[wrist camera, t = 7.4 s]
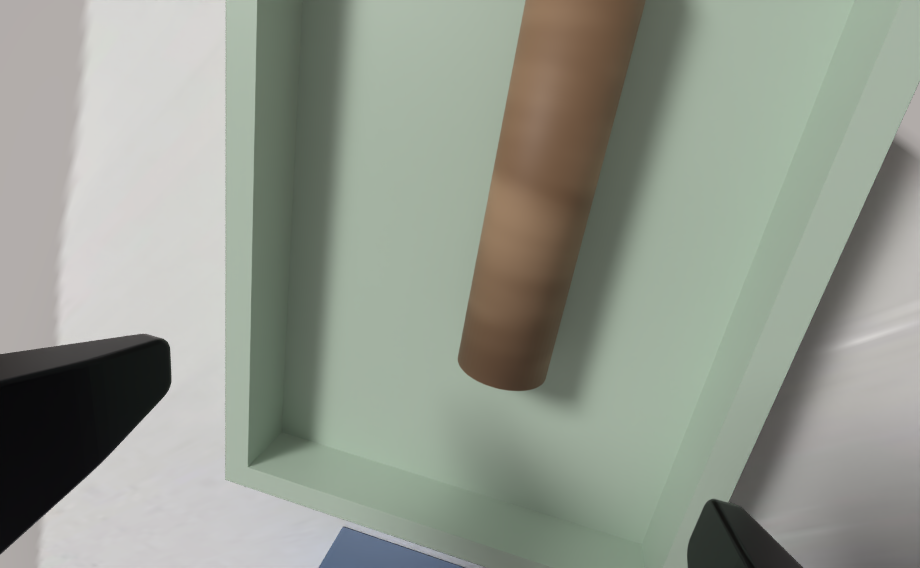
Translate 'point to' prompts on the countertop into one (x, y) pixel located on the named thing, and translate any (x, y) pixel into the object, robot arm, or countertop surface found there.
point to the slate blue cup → (375, 554)
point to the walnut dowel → (544, 183)
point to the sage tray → (594, 280)
